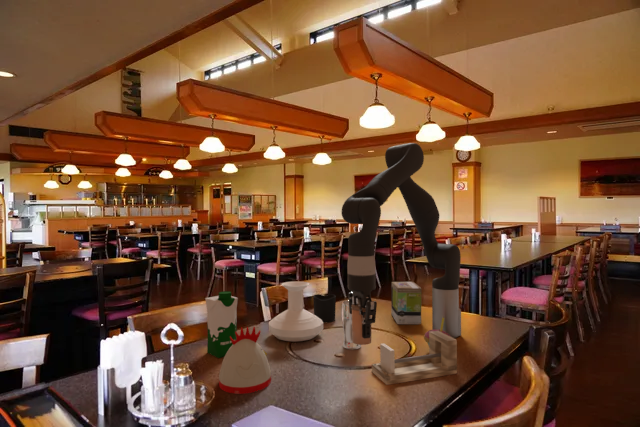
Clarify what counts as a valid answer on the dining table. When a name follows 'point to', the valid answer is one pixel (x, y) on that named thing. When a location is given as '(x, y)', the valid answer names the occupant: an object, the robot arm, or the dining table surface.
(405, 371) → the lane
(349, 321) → the beer glass
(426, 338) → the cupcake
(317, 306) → the pen holder
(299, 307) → the white vase
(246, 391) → the kitchen timer
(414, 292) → the tea box
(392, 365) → the pusher
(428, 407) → the dining table surface
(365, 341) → the jar
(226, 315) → the milk carton
